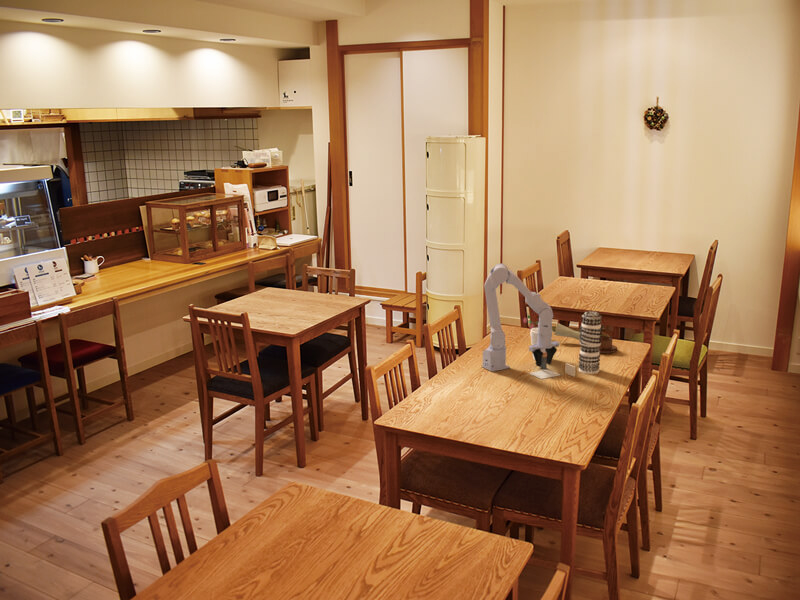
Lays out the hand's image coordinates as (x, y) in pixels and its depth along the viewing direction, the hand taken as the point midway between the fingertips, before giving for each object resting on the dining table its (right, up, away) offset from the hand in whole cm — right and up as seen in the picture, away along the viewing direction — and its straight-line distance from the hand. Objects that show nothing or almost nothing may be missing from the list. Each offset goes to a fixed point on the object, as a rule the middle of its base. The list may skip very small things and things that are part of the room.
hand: (543, 365), depth 300 cm
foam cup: (+1, +1, +13) cm, 13 cm away
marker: (0, -2, 0) cm, 2 cm away
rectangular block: (+9, -3, -7) cm, 12 cm away
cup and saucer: (+32, +4, +23) cm, 40 cm away
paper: (-1, -3, -7) cm, 7 cm away
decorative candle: (+18, -2, -2) cm, 19 cm away
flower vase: (+15, +7, +37) cm, 40 cm away
